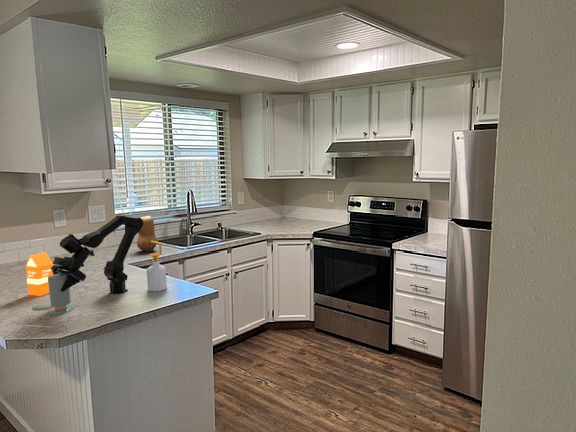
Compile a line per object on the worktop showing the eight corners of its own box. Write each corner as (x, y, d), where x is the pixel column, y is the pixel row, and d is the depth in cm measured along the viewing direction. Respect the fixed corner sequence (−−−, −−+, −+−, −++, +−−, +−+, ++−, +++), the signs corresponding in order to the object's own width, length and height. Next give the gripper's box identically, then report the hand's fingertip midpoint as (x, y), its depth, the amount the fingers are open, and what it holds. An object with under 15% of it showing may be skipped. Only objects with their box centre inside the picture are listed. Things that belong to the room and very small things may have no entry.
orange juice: (28, 295, 211) (24, 255, 208) (44, 290, 219) (40, 251, 216) (40, 296, 208) (35, 256, 205) (55, 291, 216) (51, 252, 213)
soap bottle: (147, 288, 218) (143, 240, 214) (165, 285, 221) (162, 238, 218) (148, 292, 210) (145, 243, 206) (168, 290, 213) (165, 241, 210)
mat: (62, 303, 196) (62, 303, 196) (46, 311, 187) (46, 310, 187) (43, 303, 198) (43, 302, 198) (26, 310, 188) (26, 310, 188)
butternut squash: (133, 252, 303) (130, 216, 300) (149, 248, 314) (147, 214, 311) (146, 254, 296) (143, 218, 292) (161, 250, 306) (159, 215, 303)
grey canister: (73, 300, 192) (70, 272, 190) (67, 306, 184) (64, 277, 182) (54, 301, 190) (51, 274, 189) (48, 307, 183) (44, 278, 181)
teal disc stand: (79, 307, 192) (78, 299, 191) (63, 315, 182) (63, 307, 181) (59, 306, 193) (58, 298, 193) (42, 314, 184) (41, 306, 183)
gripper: (52, 247, 192) (29, 277, 185) (76, 251, 182) (53, 283, 175) (71, 260, 200) (50, 290, 192) (95, 265, 190) (73, 296, 182)
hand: (56, 289), depth 185 cm, fingers closed on grey canister, 8 cm apart
